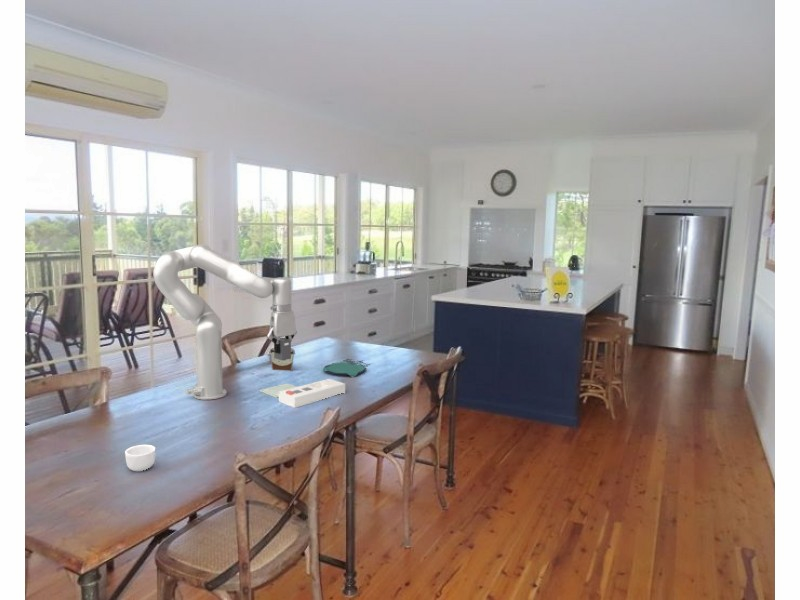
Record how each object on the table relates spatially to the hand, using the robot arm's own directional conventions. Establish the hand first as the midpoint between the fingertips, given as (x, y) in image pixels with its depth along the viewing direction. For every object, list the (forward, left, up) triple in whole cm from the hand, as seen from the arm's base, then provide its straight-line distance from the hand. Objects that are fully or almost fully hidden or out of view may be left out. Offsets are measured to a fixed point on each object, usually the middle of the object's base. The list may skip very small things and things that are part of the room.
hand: (282, 351), depth 225 cm
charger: (0, 0, -3) cm, 3 cm away
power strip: (+4, -15, -17) cm, 23 cm away
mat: (0, 0, -17) cm, 17 cm away
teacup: (-71, -29, -17) cm, 79 cm away
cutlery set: (+44, +6, -18) cm, 48 cm away
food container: (+21, +27, -17) cm, 38 cm away
